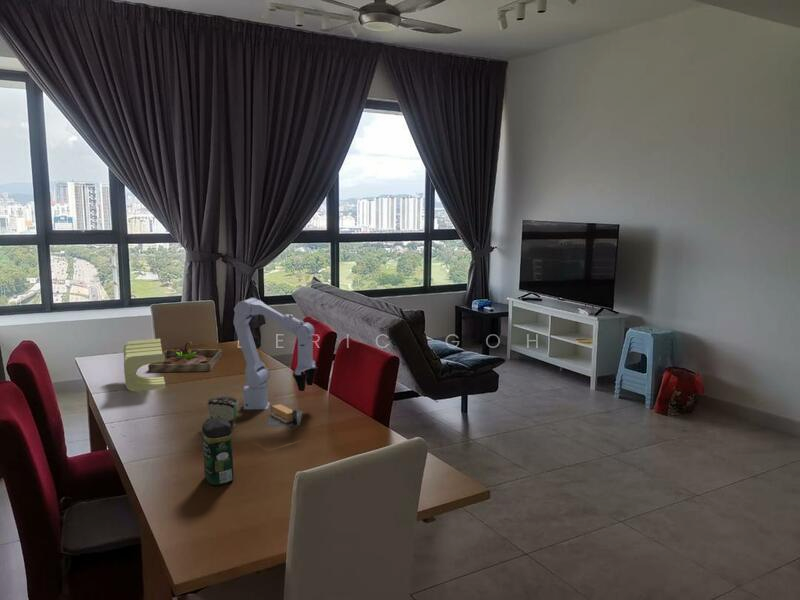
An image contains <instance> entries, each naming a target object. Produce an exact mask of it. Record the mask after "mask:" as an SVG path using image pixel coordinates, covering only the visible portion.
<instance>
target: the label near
mask: <svg viewBox="0 0 800 600" xmlns="http://www.w3.org/2000/svg"><path fill="white" fill-rule="evenodd" d="M279 419H280V420H282V421H284V422H289V421H293V419H291V420H286V419H284V418H282V417H280V418H279Z"/></svg>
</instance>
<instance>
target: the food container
mask: <svg viewBox="0 0 800 600" xmlns="http://www.w3.org/2000/svg"><path fill="white" fill-rule="evenodd" d="M206 403H207V405H206V406H208V411H209V417H210V418H215V417H220V418H223V419H225V420H227V421H228V422H229V423H230V425H231V429H232V430H234V428H235V427H236V425H237V413H238V411H237V410H238V408H239V407H240V405H239V402H238V400H237V398H235V397H232V396H217V397H213V398H210V399H208V400H207V402H206ZM210 418H209V419H210Z"/></svg>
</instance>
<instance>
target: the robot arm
mask: <svg viewBox="0 0 800 600" xmlns="http://www.w3.org/2000/svg"><path fill="white" fill-rule="evenodd" d="M233 311H234V316H233V320H232V321H233V325H234V328H235V332H236V335H237V338H238V341H239V345H240V347H241V352H242V354H243V357H244V360H245V364H246V367H245V370H244V373H245V383H246V385H244V386H243V392H242V393H243V394H242V396H243V397H242V398H243V410H268V409H269V406H270V404H271V402H269V401H268V400H269V399H268V397H269V395H268V394H269V391H268V381H269V380H270V377H271V373H270V370H269V369H268V368H267V367H266V364H265V362H263V361H262V360H261V359H260V356H259V352H258V350H257V346H256V344H255V340H254V336H253V333H252V331H251V328H250V324H249V323H250V322H251V320H252V318H253V317H254V316H256V315H257V316H259V315H262V316H264V317H266V318H269V319H271V320H273V321H275V322H277V323H279V326H280V328H282V329H284V330H286V331H287V332H290V333H291V334H293V335H295V337H296V339H297V365H296V368H295V369H294V372H293V373H292V377H293V378H294V380H295V382H296V385H297V389H298V391H299V392H305V389H306V386H313V384H314V380H315V375H316V373H317V371H318V366H317V365H316V361H315V360H314V358H313V357H314V354H313V353H314V349H313V346H314V345H313V344H314V343H313V336H314V334H315V333H316V332H315V329H316V328H315V327H314V324H311V323H310V322H308V321H307V322H304V320H300V319H298V318H297V317H294V315H293V314H291V313H290V314H289V313H286V314H282V313H281V312H279V311H278V310H275V309H274V308H273V307H271V306H269V305H268V304H266V303H265V302H263V301H262V300H260V299H257V298H256V297H250V298H248V299H244V300H241V301H238V302H237V303H236V305H235V306H234V308H233Z"/></svg>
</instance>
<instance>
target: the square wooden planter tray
mask: <svg viewBox="0 0 800 600" xmlns="http://www.w3.org/2000/svg"><path fill="white" fill-rule="evenodd" d="M190 351H191V354H192V353H193V352H196V353H195V355H200V356H204V357H212V358H211V360H210V361H209V362H207V364H164V363H162V362H156V363H150V364H147V365H148V367H147V368H148V373H165V372H166V373H167V372H168V373H169V372H170V373H171V372H173V373H174V372H211V371H212V370H213V368H214V367H215V366H216V365H217V363H218V362H219V361H220V359H221V358H222V357H223V349H215V348H214V349H213V348H212V349H206V348H205V349H190ZM176 352H178V353H181V349H176V351H174V349H166V350H165V349H164V351H162V354H165V360H166V359H168V358H171V357H177V356H178V354H177V353H176Z"/></svg>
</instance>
